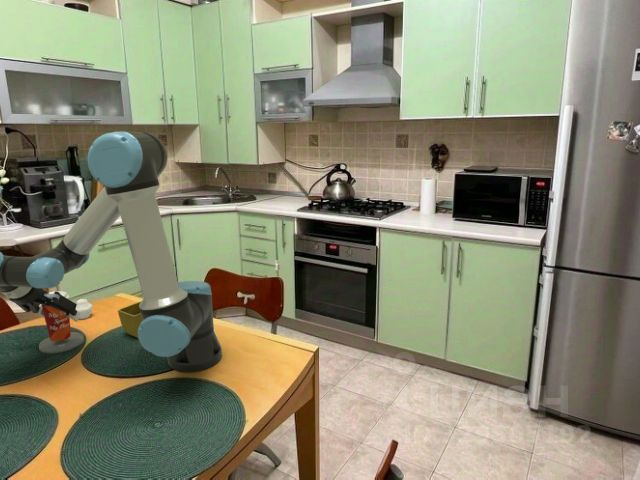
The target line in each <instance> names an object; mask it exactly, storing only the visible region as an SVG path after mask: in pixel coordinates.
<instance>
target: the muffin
mask: <svg viewBox="0 0 640 480" xmlns="http://www.w3.org/2000/svg"><path fill="white" fill-rule="evenodd" d="M75 303H76V304H77V306H76V310H77V311H78V312H79V313H80V316H79V319H80V320H86V319H88V318H90V316H91V313H92V311H93V305H92V303H90V302H89V301H88V299H86V298H80V299H78V300H77V301H76V302H75Z"/></svg>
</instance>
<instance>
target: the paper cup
mask: <svg viewBox="0 0 640 480" xmlns="http://www.w3.org/2000/svg"><path fill="white" fill-rule="evenodd" d="M54 292H59V293H60V294H61V295H62V296H64V297H65V298H67V299H69V296H70V295H69V294H68V293H67V292H66V291H64V290H63V291H61V290H60V291H59V290H57V291H51V292H48V293H49V294H54ZM45 303H46V302H45ZM42 309H43V313H44V317H45V318H44V317H43V318H44V321H45V325H46V330H47V332H48V337H50V340H51V341H62V340H65V339H68V338H69V337H70V336H71V332H72V331H71V320H70V319H71V318H70V317H68V316H66V315H65V312H63V311H60V310H58V309H55V308H53V307H50V306H43V305H42Z"/></svg>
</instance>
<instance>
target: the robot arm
mask: <svg viewBox="0 0 640 480" xmlns="http://www.w3.org/2000/svg"><path fill="white" fill-rule="evenodd" d="M167 164H168V151H167V148H166V146H165V144H164V143H163V141H162V140H161V139H160V138H159V137H158V136H156V135H154V134H153V133H150V132H147V131H141V130H140V131H136V130H135V131H127V130H125V131H123V130H121V131H120V130H119V131H113V132H108V133H104V134H102V135H100V136H98V137H97V138H96V139H95V140H94V141H93V143H92V144H91V146H90V147H89V149H88V153H87V166H88V170H89V172H90V174H91V176H92V178H94V179H95V180H96V181H98V182H99V184H100V185H103V187H102V189H101V191H99V193H98V194H97V196H96V197H95V198H94V199H93V200H92V201H91V203H90V204H89V205H88V207H87V208H86V209H85V210H84V212H83V213H82V214H81V216H80V217H79V218H78V219H77V220H76V222H75V223H74V224H73V225H72V227H71V228H70V229H69V231H68V232H66V234H65V235H64V236H63V238H62V239H61V241H59V243H58V244H57V245H56V246H55V247H54V248H51V249H48V250H46V251H43V252H41V253H38V254H37V255H34V256H16V255H14V256H13V255H11V256H10V255H5V254H3V252H1V251H0V293H1V294H3V295H4V296H5V297H6V298H8V300H9V301H10V302H13V303H14V304H15V305H16V306H18V307H19V308H21V309H22V310H23V311H24V312H25V313H30V312H32V313H33V314H37V315H39V316H40V317H42V318H43V319H45V317H44V313H43V309H42V305H43V306H50V307H53V308H55V309H58V310H60V311H63V312H65V315H66V316H68V317H70V319H71V320H73V321H74V322H77V323H78V322H79V316H80V313H79V312H78V311H77V310H76V306H77V304H76V302H74V301H72V300H70V299H69V298H68V299H67V298H65V297H64V296H62V295H61V294H60V293H59V292H55V291H53V292H54V294H49V293H50V292H48V291H46V290H44V289H54V288H56V287H58V286H59V285H60V283H61V282H62V281H63V279H64V276H65V275H66V274H68V273H70V272H72V271H74V270H77V269H79V268H81V267H82V266H83V265H85V264H86V263H87V262H88V261H89V258H90V253H91V251H92V250H93V249H94V248H95V246H96V245H97V244H98V243H99V242H100V241H101V239H102V238H103V237H104V236H105V234H107V232H108V231H109V230H110V229H111V227H112V226H113V225H114V224H115V223H116V222H117V220H118V219H119V218H121V222H122V225H123V229H124V231H125V233H124V234H125V236H126V239H127V244H128V246H129V251H130V254H131V258H132V261H133V264H134V268H135V272H136V275H137V279H138V283H139V286H140V289H141V293H142V296H143V297H142V300H141V301H140V302H141V303H140V304H139V308H140V311H141V315H142V318H143V321H142V322H141V324H140V326H139V329H138V338H137V339H138V341H139V343H140V344H141V346H142V347H143V348H144V350H145V351H147V352H148V353H152V354H153V355H154V356H156V357H162V358H166V359H167V365H168V366H169V367H170V369H172V370H174V371H177V372H183V373H184V372H185V373H193V372H194V373H195V372H199V371H203V370H206V369H208V368H209V369H210V368H211V367H213V366H215V365H216V364H218V363H220V360H221V359H222V356H223V352H222V350H223V349H222V346H221V344H220V341H219V339H218V337H217V335H216V333H215V329H214V328H215V327H214V326H215V325H214V313H213V300H212V299H213V297H212V295H213V293H212V289H211V285H210V284H209V283H207V282H205V281H199V280H186V281H179V280H178V278H177V274H176V269H175V265H174V262H173V259H172V254H171V251H170V247H169V246H170V245H169V243H168V239H167V236H166V232H165V227H164V224H163V220H162V216H161V213H160V207H159V205H158V201H157V196H156V192H157V191H158V190H159V188H160V186H161V185H160V182H159V181H160V180H159V177H160V176H161V174H162V173H163V172H164V170H165V169H166V167H167ZM45 302H46V303H45Z"/></svg>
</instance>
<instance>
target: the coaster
mask: <svg viewBox="0 0 640 480" xmlns="http://www.w3.org/2000/svg"><path fill="white" fill-rule="evenodd" d="M83 343H84V335H83V334H82V333H80V332H77V331H71V336H70V337H69V338H68V339H65V340H62V341H51V340H50V337H49V336H47V337H46V338H44V339H43V340H41V341H40V342H39V344H38V349H39V351H40V352H41V353H42V354H47V355H49V354H51V355H52V354H61V353H65V352H68V351H71V350H74V349H76V348H77V347H80V345H82V344H83Z"/></svg>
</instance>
